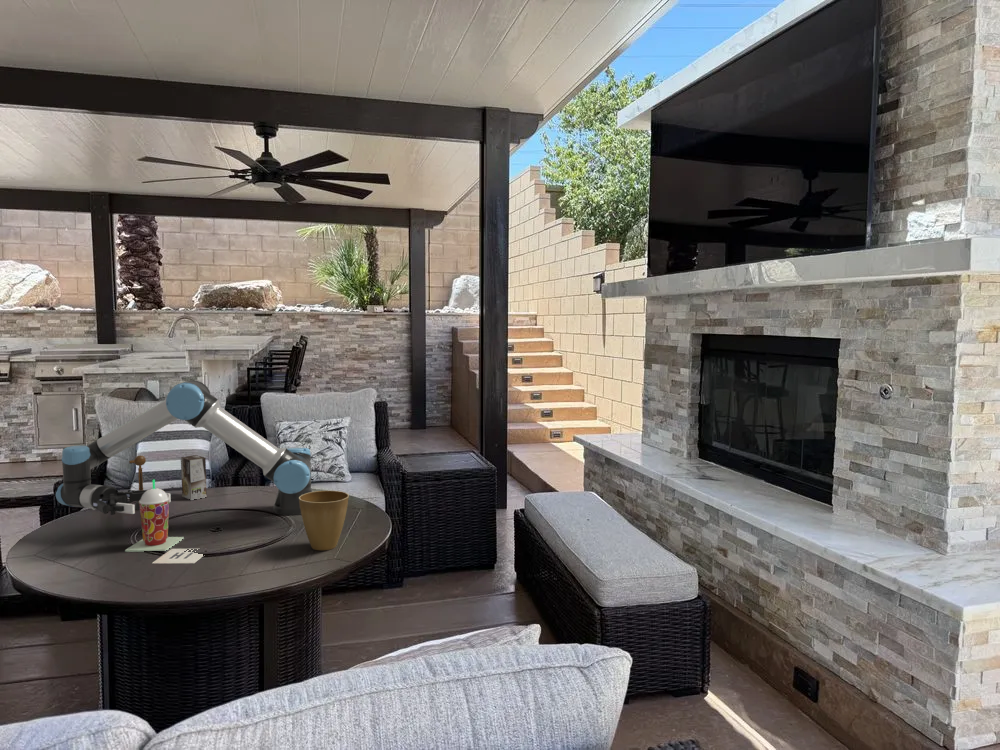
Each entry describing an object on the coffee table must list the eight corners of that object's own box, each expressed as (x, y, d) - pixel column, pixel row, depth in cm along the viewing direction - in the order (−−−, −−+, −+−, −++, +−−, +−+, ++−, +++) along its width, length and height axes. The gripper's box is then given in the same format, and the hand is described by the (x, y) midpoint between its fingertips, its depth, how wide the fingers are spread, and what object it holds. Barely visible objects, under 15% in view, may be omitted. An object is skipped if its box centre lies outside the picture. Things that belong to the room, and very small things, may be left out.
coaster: (183, 538, 210) (183, 536, 210) (165, 551, 198) (165, 549, 198) (145, 538, 210) (145, 537, 210) (125, 551, 198) (125, 549, 198)
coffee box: (207, 497, 260) (206, 457, 259) (190, 500, 255) (189, 460, 254) (197, 493, 266) (196, 454, 265) (181, 496, 262) (180, 456, 260)
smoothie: (147, 538, 208) (145, 476, 207) (175, 538, 209) (173, 476, 207) (135, 547, 200) (133, 483, 198) (163, 547, 201) (161, 483, 199)
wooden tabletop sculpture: (133, 511, 241) (130, 457, 239) (129, 508, 244) (127, 455, 243) (150, 508, 245) (148, 455, 243) (147, 505, 248) (145, 453, 247)
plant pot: (331, 557, 194) (330, 504, 193) (289, 551, 199) (288, 499, 198) (358, 542, 208) (358, 492, 206) (319, 536, 213) (318, 488, 212)
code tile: (211, 549, 201) (211, 548, 201) (194, 563, 189) (194, 562, 189) (171, 549, 200) (171, 548, 200) (151, 563, 188) (151, 562, 188)
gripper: (133, 499, 222) (183, 504, 215) (64, 519, 198) (117, 527, 191) (133, 477, 221) (183, 482, 214) (62, 495, 198) (116, 501, 191)
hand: (152, 503), depth 203 cm, fingers open, 13 cm apart
